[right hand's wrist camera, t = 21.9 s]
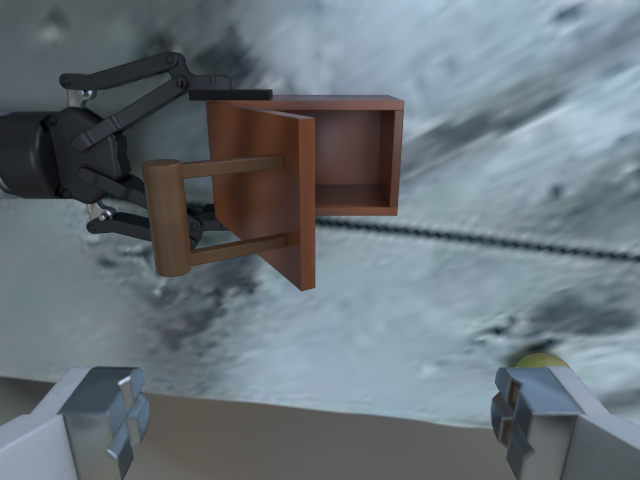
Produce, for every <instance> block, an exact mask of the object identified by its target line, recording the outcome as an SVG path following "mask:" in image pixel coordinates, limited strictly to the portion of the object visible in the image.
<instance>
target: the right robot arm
mask: <svg viewBox="0 0 640 480" xmlns="http://www.w3.org/2000/svg"><path fill="white" fill-rule="evenodd" d="M144 384H145V379H144V374H143V370H141V369H140V368H139V367H105V366H96V367H94V366H74V367H72V368H69V369H68V370H67V371H66V372H65V374H64V375H63V376H62V377H61V378H60V379H59V381H58V382H57V383H56V384H55V385H54V387H53V388H52V389H51V390H50V391H49V392H48V394H47V395H46V396H45V397H44V398H43V399H42V401H41V402H40V403H39V404H38V405H37V406H36V408H35V409H34V410H33V411H32V412H31V413H30V415H21V416H19V417H17V418H15V419H13V420H11V421H9V422H7V423H6V424H4V425H2V426H0V480H123V479H124V477H125V475H126V473H127V471H128V469H129V467H130V464H131V462H132V460H133V453H132V449H133V448H134V447H135V446H137V445H138V444H139V443H141V442H142V440H143V437H144V435H145V433H146V429H147V425H148V421H149V404H148V399H147V398H146V397H145V396H144V395H143V394H142V393H141V392H140V391H141V389H142V388H143V386H144ZM495 384H496V386H497V388H498V389H499V391H500V392H499V393H498V394H497V395H496V396H495V397H494V398H493V399H492V405H491V420H492V426H493V430H494V433H495V435H496V437H497V440H498V442H499V443H501V444H502V445H503V446H505V447H506V448H507V449H508V453H507V460H508V462H509V465H510V467H511V469H512V471H513V473H514V475H515V477H516V479H517V480H640V426H638V425H636V424H634V423H632V422H631V421H629V420H627V419H625V418H623V417H621V416H619V415H610V413H609V412H608V411H607V410H606V409H605V408H604V406H603V405H602V404H601V403H600V402H599V401H598V399H597V398H596V397H595V396H594V395H593V394H592V392H591V391H590V390H589V389H588V388H587V387H586V385H585V384H584V383H583V382H582V381H581V380H580V378H579V377H578V376H577V375H576V374H575V372H574V371H573V370H572V369H571V368H569V367H567V366H549V367H523V368H499V369H498V371H497V373H496V379H495Z"/></svg>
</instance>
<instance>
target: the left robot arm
mask: <svg viewBox="0 0 640 480" xmlns="http://www.w3.org/2000/svg"><path fill="white" fill-rule="evenodd" d="M185 62H186V61H185V57H184V56H183V55H182V54H181V53H177V52H164V53H161V54H158V55H154V56H151V57H148V58H144V59H141V60H137V61H134V62H131V63H127V64H124V65H121V66H117V67H114V68H110V69H107V70H104V71H100V72H97V73H94V74H82V73H66V74H62V75H61V76H60V78H59V81H60V84H61V86H62V87H64V88H65V89H67V96H68V106H69V107H67V108H65V109H64V110H62V111H60V112H13V113H8V112H0V199H17V198H24V199H75V200H78V201H80V202H82V203H84V204H86V205H87V208H88V212H89V216H90V219H91V221H90V222H88V223H87V225H86V227H87V230H88V231H89V232H90V233H92V234H98V233H110V232H114V233H118V234H122V235H126V236H130V237H135V238H139V239H143V240H147V241H151V242H152V238H151V231H150V224H149V218H146V217H142V216H138V215H134V214H130V213H123V212H116V209H115V208H112V207H108V206H105V205H104V204H103V203H102V201H101V200H102V199H103V198H104V197H105V196H107V195H108V194H111V195H113V196H115V197H117V198H120V199H123V200H129V201H131V202H133V203H135V204H137V205H139V206H141V207H143V208H145V209H147V202H146V194H145V187H144V182H142V180H141V179H140V178H138V177H136V176H134V175H132V174H130V173H129V172H130V171H131V167H130V162H129V159H128V157H127V155H126V152H127V139H126V137H124V136H123V134H122V132H124V131H125V130H127V129H129V128H130V127H132V126H133V125H134V124H136V123H137V122H139V121H141V120H142V119H144V118H146V117H147V116H149V115H151V114H152V113H154V112H156V111H157V110H159V109H161V108H162V107H164V106H165V105H167V104H169V103H170V102H172V101H174V100H175V99H177V98H179V97H180V96H182V95H184V94H185V93H187V92H189V99H190V100H270V99H272V98H273V97H272V90H232V83H231V78H230V77H228V76H225V75H194V74H192V73H191V72H190V71H189V70H188V67H187V65H186V63H185ZM168 71H169V73H170V75H171V77H172V79H171V80H169V81H168V82H166V83H165V84H163V85H161V86H160V87H158V88H157V89H155V90H153V91H152V92H150V93H148V94H147V95H145V96H144V97H142V98H140V99H139V100H137V101H135V102H134V103H132V104H131V105H129V106H127V107H126V108H124V109H122V110H121V111H119V112H118V113H116V114H114V115H112V116H110V117H108V118H106V119H103V118H102V117H100V116H99V115H97V114H96V113H94V112H93V111H91V110H90V109H88V108H86V107H85V106H86V102H87V101H88V100H91V99H94V98H95V97H96V96H97V90H103V89H110V88H113V87H117V86H120V85H124V84H127V83H131V82H134V81H137V80H141V79H144V78H148V77H151V76H154V75H158V74H161V73H165V72H168ZM147 210H148V209H147ZM186 211H187V220H188V229H189V239H190V248H191V250H193V249H194V248H195V247H196V246H197V244H198V243H199V242H200V240H201V238H202V233H203V231H207V230H229V229H228V228H227V227H225V226H224V225H223V224H222V223H221V222H220V221H218V220H217V219H216V218H215V207H214V204H207V205H206V206H205V207H204V209H203V210H202V211H200V210H198V209H196V208H194V207H192V206H190V205H188V204H186Z"/></svg>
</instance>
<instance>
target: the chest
mask: <svg viewBox="0 0 640 480" xmlns="http://www.w3.org/2000/svg"><path fill="white" fill-rule="evenodd" d="M272 97H273V98H272V99H270V100H215V101H220V102H225V103H231V104H237V105H243V106H249V107H255V108H261V109H266V110H272V111H278V112H284V113H290V114H296V115H302V116H307V117H313V118H315V215H339V216H397V211H398V194H399V178H400V162H401V145H402V129H403V113H404V111H403V110H404V101H403V100H400V99H397V98H395V97H392V96H389V95H272Z"/></svg>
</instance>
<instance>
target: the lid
mask: <svg viewBox="0 0 640 480" xmlns="http://www.w3.org/2000/svg"><path fill="white" fill-rule="evenodd" d="M206 111H207V123H208V135H209V147H210V159H211V160H205V161H195V162H184V163H181V161H179V160H173V159H160V160H151V161H147V162H144V163H142V173H143V180H144V187H145V194H146V202H147V209H148V216H149V224H150V231H151V238H152V245H153V253H154V260H155V267H156V273H157V274H158V275H160V276H164V277H176V276H181V275H184V274H186V273H188V272H190V271H191V270H192V266H194V265H199V264H204V263H210V262H215V261H220V260H225V259H230V258H235V257H240V256H245V255H250V254H255V253H257V254H258V255H259V256H261V257H262V258H263V259H264V260H265V261H267V262H268V263H269V264H270V265H271V266H272V267H274V268H275V269H276V270H277V271H278V272H279V273H281V274H282V275H283V276H284V277H285V278H286V279H288V280H289V281H290V282H291V283H292V284H294V285H295V286H296V287H297V288H298V289H299V290H301V291H304V290H308V289H312V288H315V118H313V117H307V116H302V115H296V114H290V113H284V112H278V111H272V110H266V109H261V108H255V107H249V106H243V105H237V104H231V103H225V102H220V101H206ZM204 176H212V183H213V195H214V207H215V218H216V219H217V220H218V221H220V222H221V223H222V224H223V225H224V226H225V227H227V228H228V229H229V230H230V231H231V232H233V233H234V234H235V235H236V236H237V237H238V238H240V239H241V240H242V241H237V242H232V243H226V244H221V245H216V246H210V247H205V248H199V249H194V250H191V248H190V239H189V229H188V220H187V211H186V201H185V192H184V183H183V179H186V178H195V177H204Z"/></svg>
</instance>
